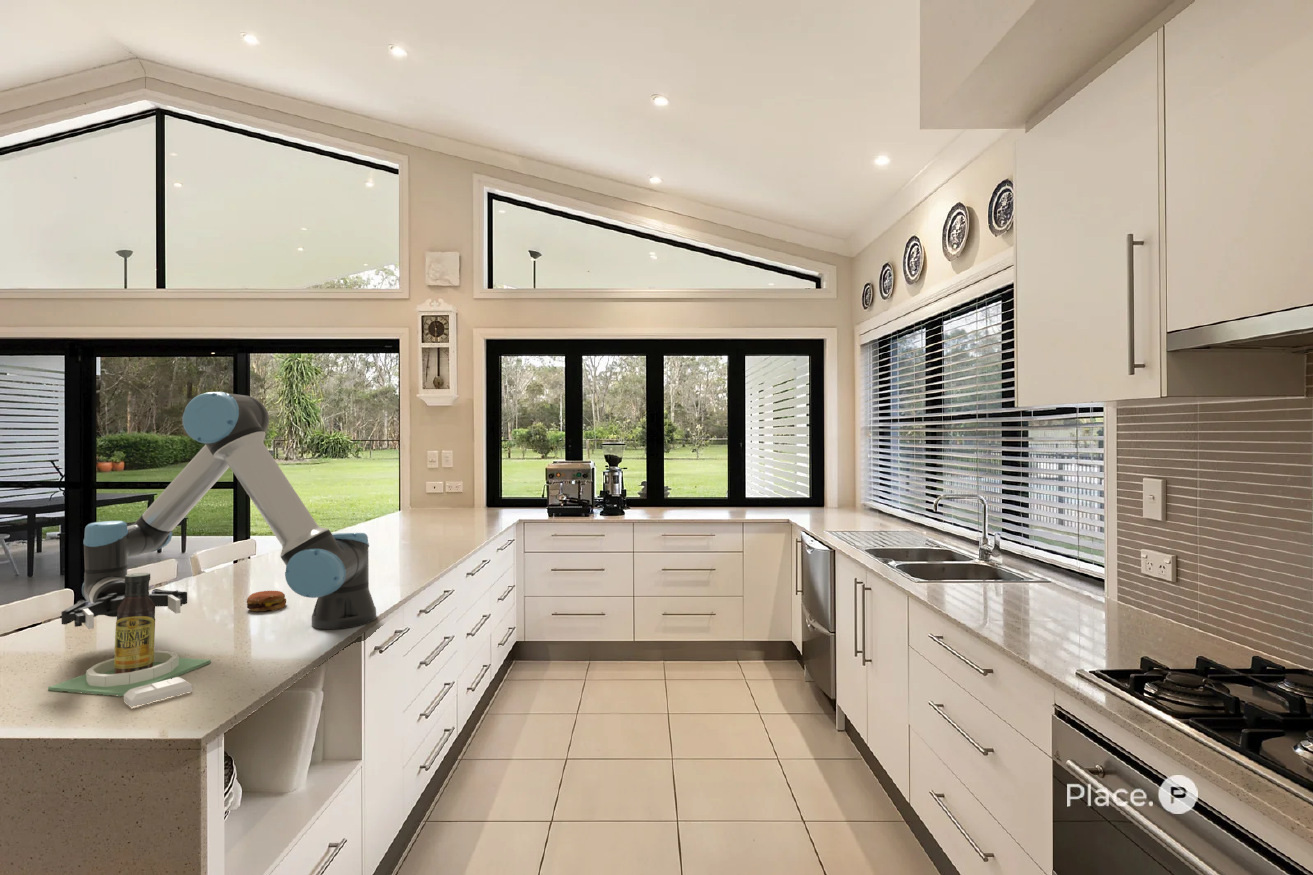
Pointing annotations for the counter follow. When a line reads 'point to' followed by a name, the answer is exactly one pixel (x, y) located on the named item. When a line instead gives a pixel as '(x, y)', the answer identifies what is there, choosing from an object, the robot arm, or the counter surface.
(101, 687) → the putting mat
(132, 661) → the sauce bottle
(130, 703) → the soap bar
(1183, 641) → the counter surface
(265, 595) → the burger
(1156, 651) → the counter surface
